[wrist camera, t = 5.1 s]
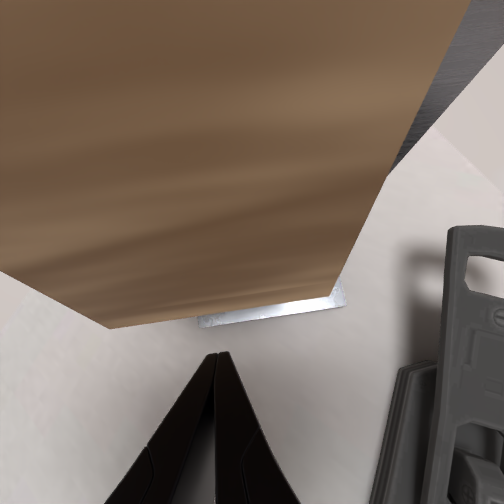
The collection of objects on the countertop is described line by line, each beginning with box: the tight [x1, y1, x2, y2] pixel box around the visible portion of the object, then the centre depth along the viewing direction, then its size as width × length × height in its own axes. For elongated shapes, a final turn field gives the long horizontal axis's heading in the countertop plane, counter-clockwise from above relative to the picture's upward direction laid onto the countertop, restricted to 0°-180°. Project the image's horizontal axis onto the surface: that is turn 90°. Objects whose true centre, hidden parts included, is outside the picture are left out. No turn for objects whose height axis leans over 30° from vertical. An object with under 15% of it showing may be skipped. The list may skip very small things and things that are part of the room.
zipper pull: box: [369, 225, 504, 504], centre depth 17 cm, size 9×7×25 cm
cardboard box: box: [0, 0, 471, 329], centre depth 9 cm, size 10×10×12 cm
